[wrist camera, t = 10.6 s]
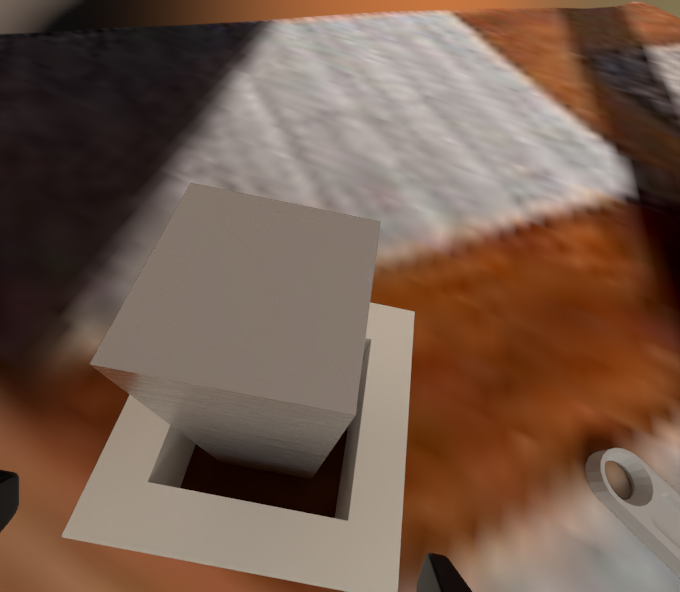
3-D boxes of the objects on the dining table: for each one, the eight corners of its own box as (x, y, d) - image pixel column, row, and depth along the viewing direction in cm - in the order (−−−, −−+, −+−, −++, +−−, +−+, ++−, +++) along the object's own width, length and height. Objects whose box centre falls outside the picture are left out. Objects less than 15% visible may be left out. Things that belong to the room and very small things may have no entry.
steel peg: (311, 479, 16) (356, 415, 5) (220, 462, 15) (89, 364, 5) (327, 389, 18) (380, 221, 7) (247, 374, 18) (191, 182, 7)
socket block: (370, 579, 14) (397, 601, 11) (117, 531, 14) (61, 536, 10) (392, 347, 19) (414, 311, 16) (209, 309, 19) (192, 265, 16)
